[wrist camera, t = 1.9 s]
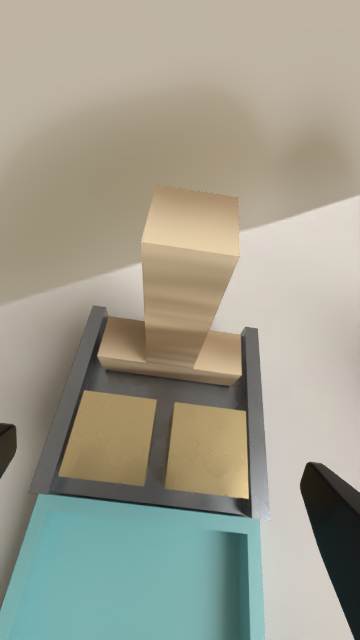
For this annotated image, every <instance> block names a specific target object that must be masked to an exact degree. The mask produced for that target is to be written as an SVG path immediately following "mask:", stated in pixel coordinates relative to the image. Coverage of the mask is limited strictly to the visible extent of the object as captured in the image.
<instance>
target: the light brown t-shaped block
mask: <svg viewBox="0 0 360 640" xmlns="http://www.w3.org/2000/svg"><path fill="white" fill-rule="evenodd" d="M238 217H239V216H238V197H232V196H226V195H219V194H212V193H206V192H200V191H193V190H187V189H181V188H174V187H168V186H161V185H156V188H155V192H154V195H153V200H152V203H151V207H150V211H149V214H148V218H147V222H146V225H145V229H144V233H143V236H142V240H141V251H142V272H143V292H144V313H145V321H138V320H131V319H124V318H117V317H109V318H108V321H107V325H106V328H105V331H104V335H103V338H102V341H101V345H100V348H99V352H98V355H97V357H98V359H99V361H100V363H101V365H102V367H103V369H105V370H113V371H121V372H128V373H136V374H143V375H151V376H158V377H166V378H173V379H181V380H188V381H196V382H203V383H211V384H218V385H226V386H232V385H233V384H234V383H235V382H236V381H237V380H238V379H239V378H240V377H241V376H242V367H241V335H239V334H232V333H224V332H217V331H210V330H209V329H210V327H211V324H212V322H213V320H214V317H215V315H216V312H217V310H218V307H219V305H220V303H221V300H222V298H223V295H224V293H225V291H226V288H227V286H228V283H229V281H230V278H231V276H232V274H233V271H234V269H235V266H236V264H237V262H238V259H239V257H240V252H239V218H238Z"/></svg>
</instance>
